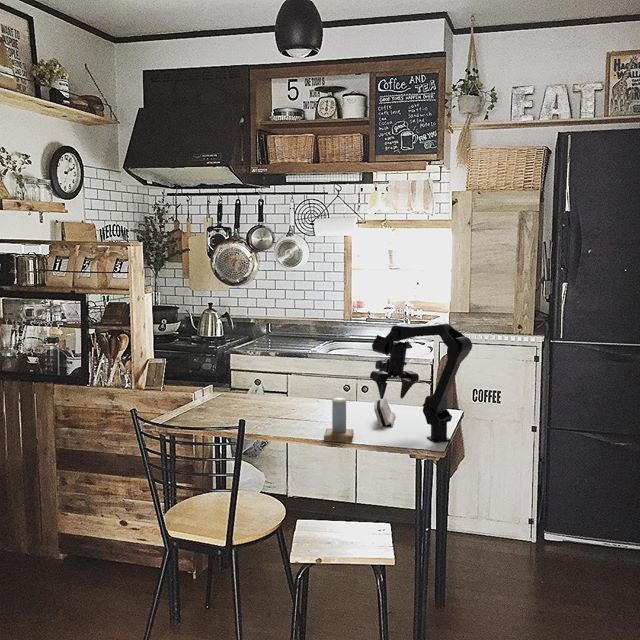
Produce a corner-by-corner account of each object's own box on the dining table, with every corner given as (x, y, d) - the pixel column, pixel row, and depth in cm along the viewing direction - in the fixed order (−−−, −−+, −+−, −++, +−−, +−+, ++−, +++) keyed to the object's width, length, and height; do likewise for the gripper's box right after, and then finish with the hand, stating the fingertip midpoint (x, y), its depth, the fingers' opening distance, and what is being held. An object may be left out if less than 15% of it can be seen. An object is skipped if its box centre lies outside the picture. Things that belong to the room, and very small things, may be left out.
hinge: (392, 427, 294) (384, 402, 294) (381, 430, 295) (372, 406, 295) (396, 416, 311) (387, 393, 310) (384, 420, 312) (376, 397, 311)
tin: (348, 432, 279) (349, 399, 277) (337, 434, 276) (337, 401, 275) (341, 429, 283) (341, 397, 282) (329, 431, 280) (329, 398, 279)
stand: (353, 434, 284) (353, 428, 284) (352, 441, 274) (352, 435, 274) (326, 433, 285) (326, 428, 285) (324, 441, 275) (324, 435, 275)
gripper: (405, 352, 297) (399, 392, 299) (364, 352, 287) (359, 393, 290) (422, 360, 287) (416, 400, 290) (381, 360, 278) (375, 401, 280)
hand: (391, 398), depth 287 cm, fingers open, 9 cm apart
